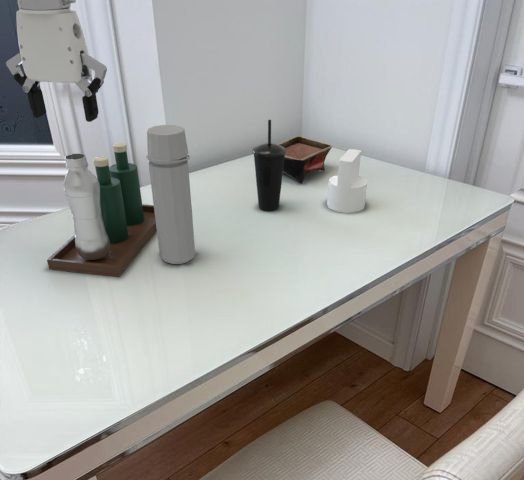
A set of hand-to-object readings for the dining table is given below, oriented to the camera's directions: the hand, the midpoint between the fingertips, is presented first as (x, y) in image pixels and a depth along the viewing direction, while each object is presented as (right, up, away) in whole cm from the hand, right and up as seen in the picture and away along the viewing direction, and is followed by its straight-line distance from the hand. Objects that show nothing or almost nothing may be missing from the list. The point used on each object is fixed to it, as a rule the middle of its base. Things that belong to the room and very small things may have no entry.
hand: (66, 117), depth 95 cm
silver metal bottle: (0, -21, +16) cm, 27 cm away
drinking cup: (+35, -6, +38) cm, 52 cm away
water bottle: (+17, -21, +18) cm, 32 cm away
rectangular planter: (+43, +9, +56) cm, 72 cm away
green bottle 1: (+2, -16, +23) cm, 28 cm away
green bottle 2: (+4, -11, +30) cm, 32 cm away
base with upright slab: (+54, -5, +39) cm, 67 cm away
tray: (+2, -16, +23) cm, 29 cm away
